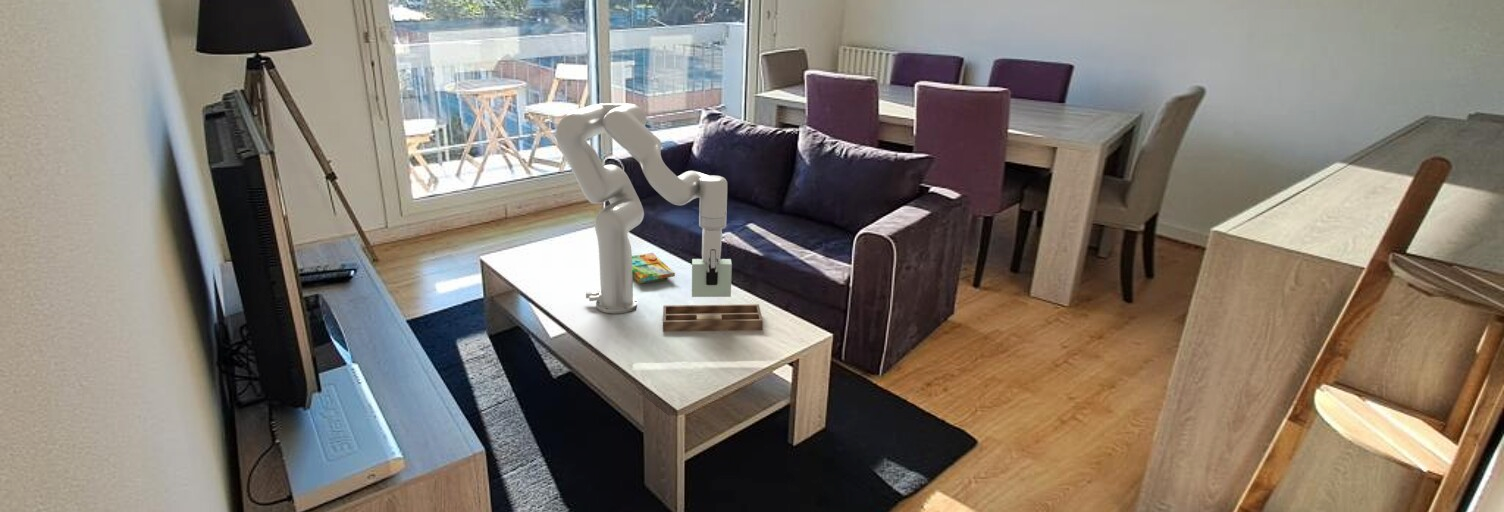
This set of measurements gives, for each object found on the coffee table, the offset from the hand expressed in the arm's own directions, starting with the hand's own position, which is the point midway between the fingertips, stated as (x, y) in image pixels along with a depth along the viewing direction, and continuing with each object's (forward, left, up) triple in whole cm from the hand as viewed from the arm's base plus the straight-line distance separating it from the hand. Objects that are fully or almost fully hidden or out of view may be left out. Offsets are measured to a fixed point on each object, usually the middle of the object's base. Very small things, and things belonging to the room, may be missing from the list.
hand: (711, 280), depth 223 cm
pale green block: (0, 0, -4) cm, 4 cm away
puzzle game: (-20, +37, -14) cm, 44 cm away
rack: (0, -2, -13) cm, 13 cm away
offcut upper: (-1, -5, -10) cm, 12 cm away
